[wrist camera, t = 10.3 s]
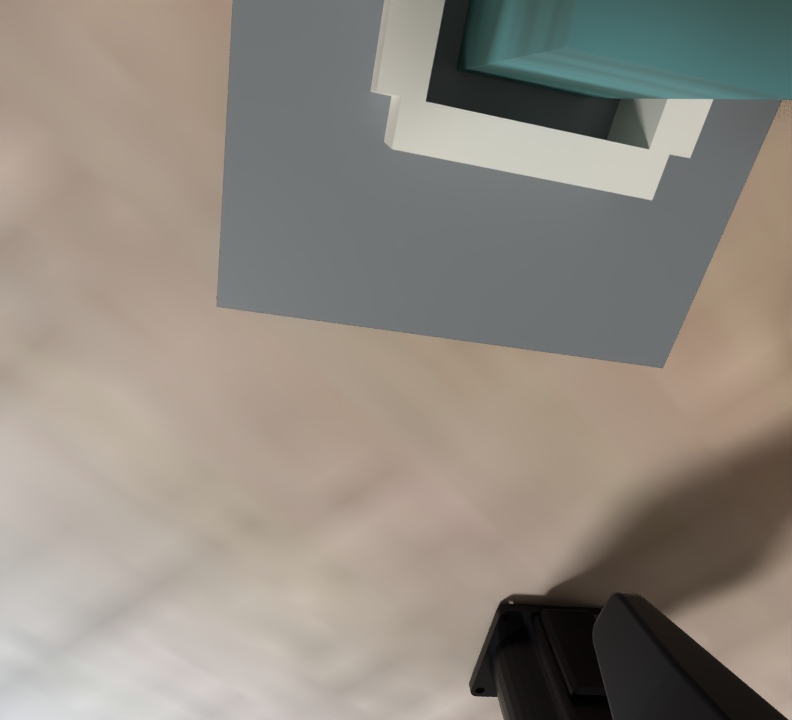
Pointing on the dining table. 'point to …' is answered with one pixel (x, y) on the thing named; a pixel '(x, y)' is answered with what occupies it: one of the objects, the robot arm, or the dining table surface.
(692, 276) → the holder
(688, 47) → the peg
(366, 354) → the dining table surface
